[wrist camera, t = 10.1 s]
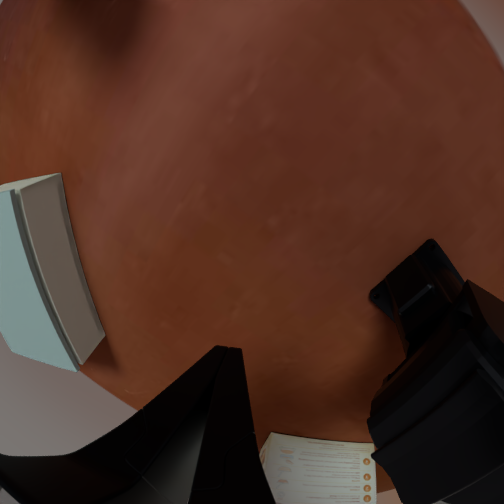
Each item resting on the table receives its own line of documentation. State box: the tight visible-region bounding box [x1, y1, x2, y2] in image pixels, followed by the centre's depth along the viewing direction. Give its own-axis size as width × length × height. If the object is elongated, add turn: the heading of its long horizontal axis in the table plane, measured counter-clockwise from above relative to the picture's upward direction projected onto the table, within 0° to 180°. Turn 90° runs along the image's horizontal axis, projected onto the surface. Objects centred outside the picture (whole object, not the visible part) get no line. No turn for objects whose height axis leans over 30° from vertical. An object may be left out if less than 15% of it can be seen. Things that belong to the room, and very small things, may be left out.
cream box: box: [0, 173, 105, 365], centre depth 23 cm, size 11×18×5 cm, turn 1°
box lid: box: [0, 189, 80, 372], centre depth 20 cm, size 11×18×1 cm, turn 1°
